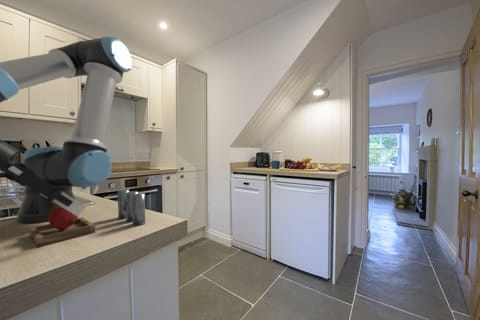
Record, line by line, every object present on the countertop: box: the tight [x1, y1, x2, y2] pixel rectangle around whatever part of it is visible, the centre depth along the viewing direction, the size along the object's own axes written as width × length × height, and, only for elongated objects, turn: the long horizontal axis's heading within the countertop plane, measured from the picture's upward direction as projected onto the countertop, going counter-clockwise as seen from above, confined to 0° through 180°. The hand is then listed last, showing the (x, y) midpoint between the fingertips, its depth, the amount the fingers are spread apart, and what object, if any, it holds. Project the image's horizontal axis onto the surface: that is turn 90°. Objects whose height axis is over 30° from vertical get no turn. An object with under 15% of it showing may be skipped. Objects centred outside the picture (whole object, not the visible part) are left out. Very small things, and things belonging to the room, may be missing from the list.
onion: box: [48, 205, 79, 231], centre depth 53 cm, size 6×6×8 cm
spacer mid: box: [126, 190, 139, 223], centre depth 64 cm, size 3×3×9 cm
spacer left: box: [117, 189, 131, 220], centre depth 67 cm, size 3×3×9 cm
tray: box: [29, 217, 96, 248], centre depth 53 cm, size 11×11×2 cm
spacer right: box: [132, 192, 146, 227], centre depth 61 cm, size 3×3×9 cm
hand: (73, 207), depth 55 cm, fingers open, 13 cm apart
